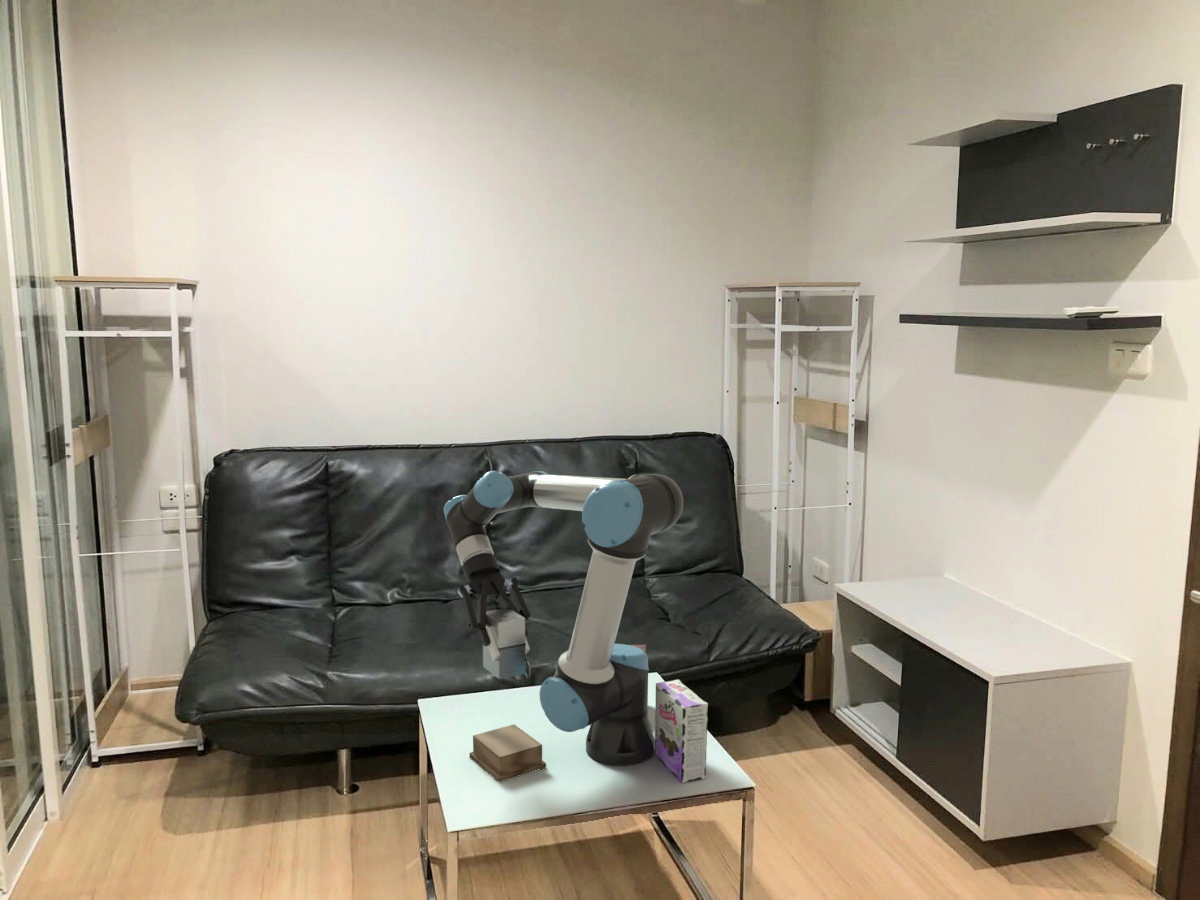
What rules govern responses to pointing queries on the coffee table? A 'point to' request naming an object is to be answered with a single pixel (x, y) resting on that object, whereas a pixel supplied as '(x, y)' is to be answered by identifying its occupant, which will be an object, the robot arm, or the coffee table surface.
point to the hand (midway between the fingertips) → (511, 655)
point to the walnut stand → (507, 752)
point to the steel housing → (506, 643)
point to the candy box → (681, 730)
